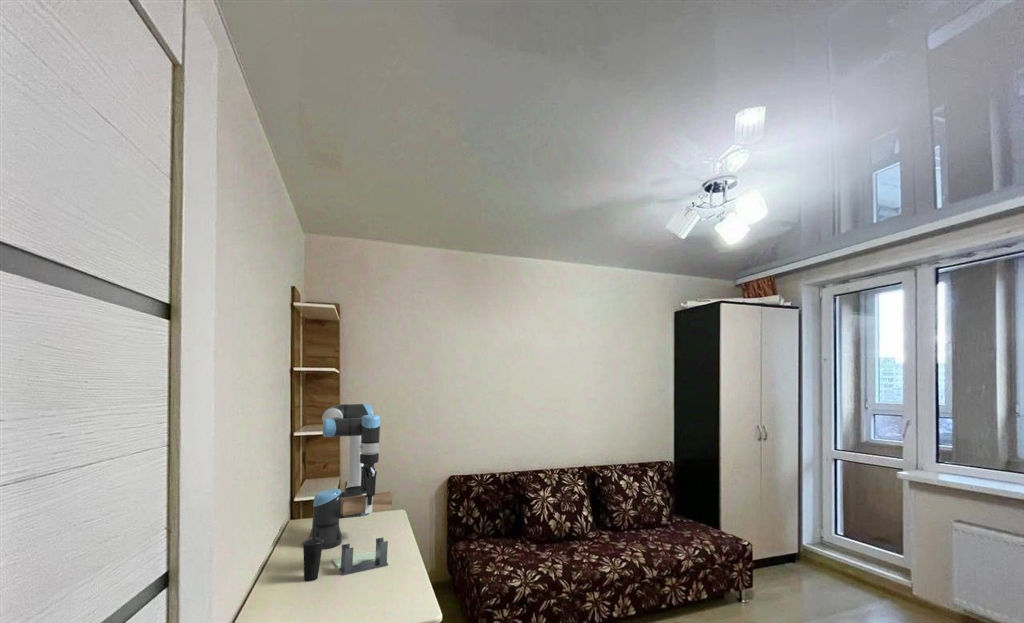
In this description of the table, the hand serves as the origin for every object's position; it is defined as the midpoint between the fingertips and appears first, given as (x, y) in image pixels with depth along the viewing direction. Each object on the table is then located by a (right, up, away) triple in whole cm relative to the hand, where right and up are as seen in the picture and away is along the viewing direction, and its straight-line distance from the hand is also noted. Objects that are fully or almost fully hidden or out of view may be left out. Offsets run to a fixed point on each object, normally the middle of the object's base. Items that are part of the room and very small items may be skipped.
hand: (366, 511), depth 196 cm
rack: (0, -22, -3) cm, 22 cm away
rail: (0, 0, 0) cm, 0 cm away
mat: (-6, -23, +5) cm, 24 cm away
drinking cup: (-17, -20, -14) cm, 30 cm away
